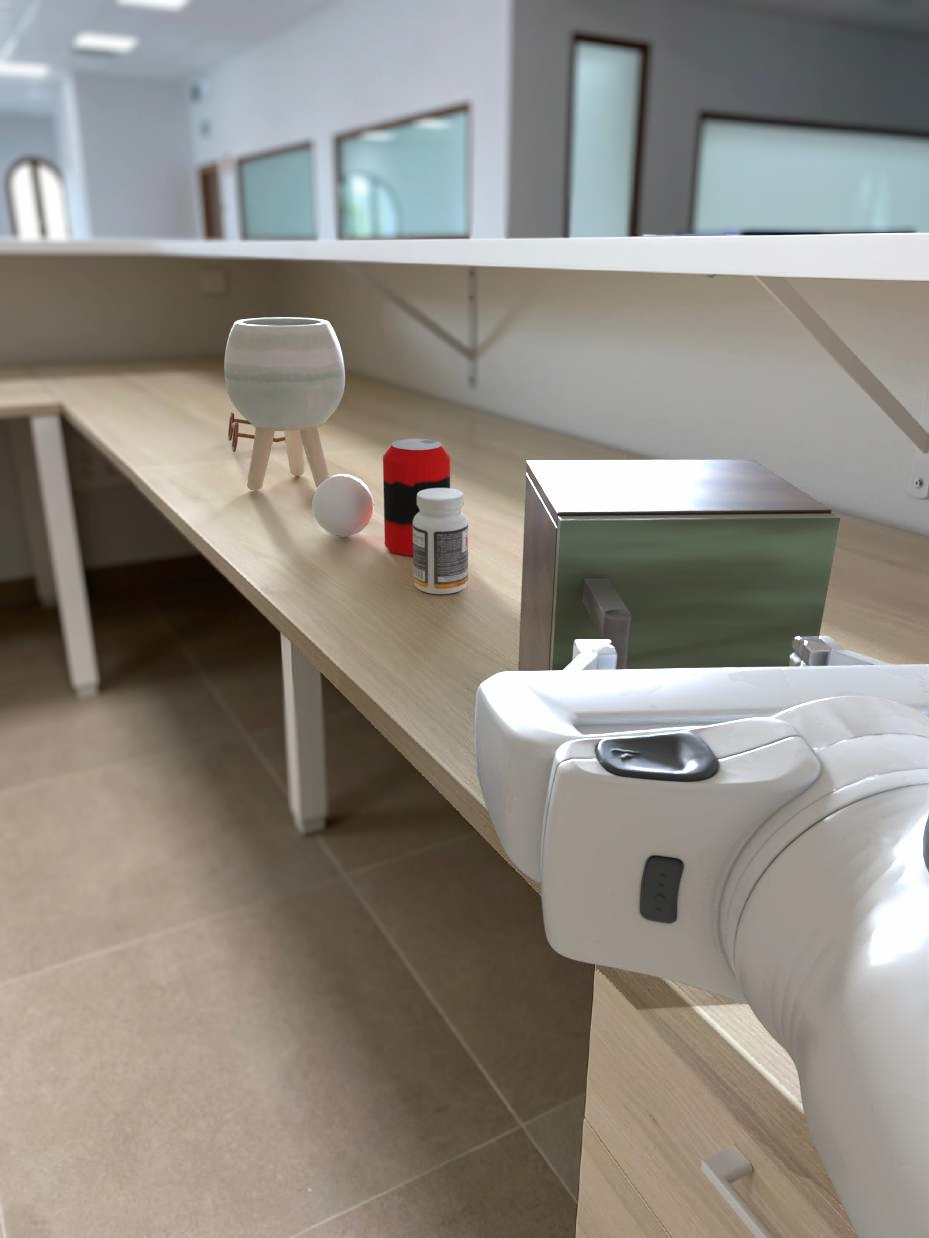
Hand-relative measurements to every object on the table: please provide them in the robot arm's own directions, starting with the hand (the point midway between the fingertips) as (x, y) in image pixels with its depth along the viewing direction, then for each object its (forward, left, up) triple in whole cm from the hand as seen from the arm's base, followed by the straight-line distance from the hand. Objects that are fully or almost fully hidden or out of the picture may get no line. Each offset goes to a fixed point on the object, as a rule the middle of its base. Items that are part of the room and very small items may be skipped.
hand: (698, 653), depth 39 cm
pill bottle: (+8, -55, -18) cm, 59 cm away
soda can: (+10, -68, -18) cm, 71 cm away
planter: (+27, -96, -18) cm, 102 cm away
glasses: (+33, -122, -18) cm, 128 cm away
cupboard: (-7, -28, -18) cm, 34 cm away
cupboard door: (-7, -17, -18) cm, 25 cm away
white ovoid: (+19, -74, -18) cm, 79 cm away
